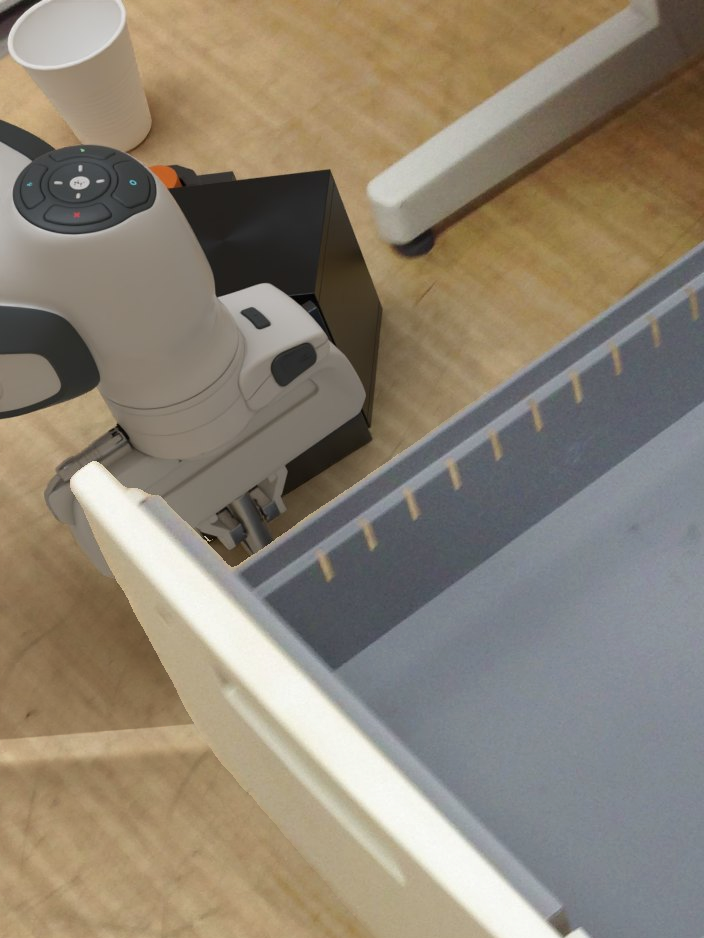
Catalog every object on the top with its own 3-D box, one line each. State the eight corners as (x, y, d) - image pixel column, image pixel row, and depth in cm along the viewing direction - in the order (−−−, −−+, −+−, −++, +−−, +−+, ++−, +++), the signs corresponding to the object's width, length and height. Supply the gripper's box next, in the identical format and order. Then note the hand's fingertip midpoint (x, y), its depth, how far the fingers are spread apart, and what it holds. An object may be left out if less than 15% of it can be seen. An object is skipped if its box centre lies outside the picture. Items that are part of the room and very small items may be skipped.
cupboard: (371, 428, 131) (314, 293, 119) (186, 447, 132) (112, 315, 121) (383, 308, 137) (330, 168, 126) (206, 327, 139) (138, 191, 127)
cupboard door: (429, 503, 126) (377, 372, 115) (259, 613, 123) (188, 489, 111) (366, 431, 130) (310, 298, 119) (201, 536, 127) (127, 409, 116)
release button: (132, 219, 142) (124, 203, 140) (140, 184, 144) (131, 168, 143) (181, 214, 141) (173, 197, 140) (188, 179, 144) (180, 162, 142)
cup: (40, 163, 153) (-17, 58, 144) (101, 86, 157) (49, -20, 148) (136, 183, 150) (83, 76, 141) (195, 104, 154) (148, -4, 145)
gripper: (59, 514, 102) (146, 647, 114) (347, 319, 108) (402, 464, 119) (7, 455, 105) (96, 589, 117) (289, 267, 111) (348, 413, 123)
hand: (253, 524), depth 118 cm, fingers closed
